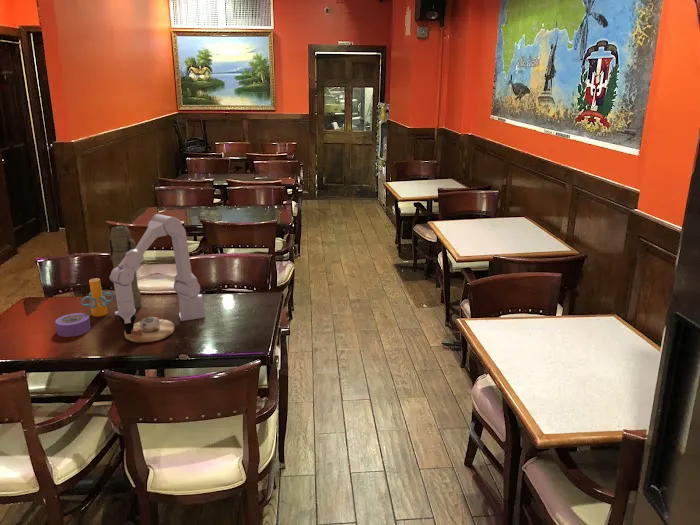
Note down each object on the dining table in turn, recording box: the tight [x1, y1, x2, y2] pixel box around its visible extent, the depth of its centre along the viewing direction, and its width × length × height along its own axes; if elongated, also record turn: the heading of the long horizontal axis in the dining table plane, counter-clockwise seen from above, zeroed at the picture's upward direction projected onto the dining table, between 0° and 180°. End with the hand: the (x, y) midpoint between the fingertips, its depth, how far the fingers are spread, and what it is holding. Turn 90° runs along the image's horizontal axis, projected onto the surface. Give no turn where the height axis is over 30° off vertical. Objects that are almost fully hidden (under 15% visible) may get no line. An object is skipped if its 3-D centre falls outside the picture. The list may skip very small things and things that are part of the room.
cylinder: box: [80, 277, 115, 318], centre depth 230 cm, size 12×10×15 cm
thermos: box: [107, 225, 142, 310], centre depth 234 cm, size 9×12×35 cm
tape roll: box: [54, 312, 92, 338], centre depth 217 cm, size 12×12×5 cm
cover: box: [139, 316, 160, 333], centre depth 214 cm, size 7×7×4 cm
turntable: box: [124, 318, 175, 343], centre depth 214 cm, size 18×18×4 cm
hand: (129, 333), depth 208 cm, fingers closed
